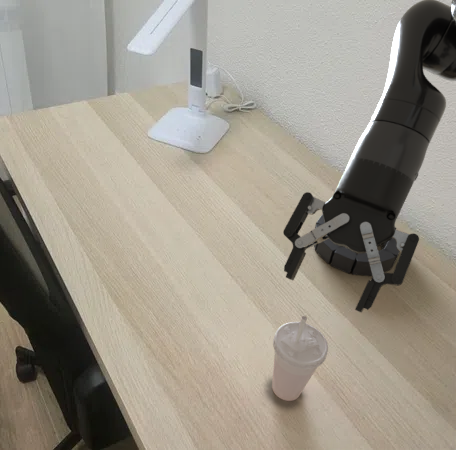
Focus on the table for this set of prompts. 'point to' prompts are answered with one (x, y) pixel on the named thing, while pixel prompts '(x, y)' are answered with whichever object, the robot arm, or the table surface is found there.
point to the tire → (355, 256)
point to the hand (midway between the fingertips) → (323, 294)
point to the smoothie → (296, 357)
